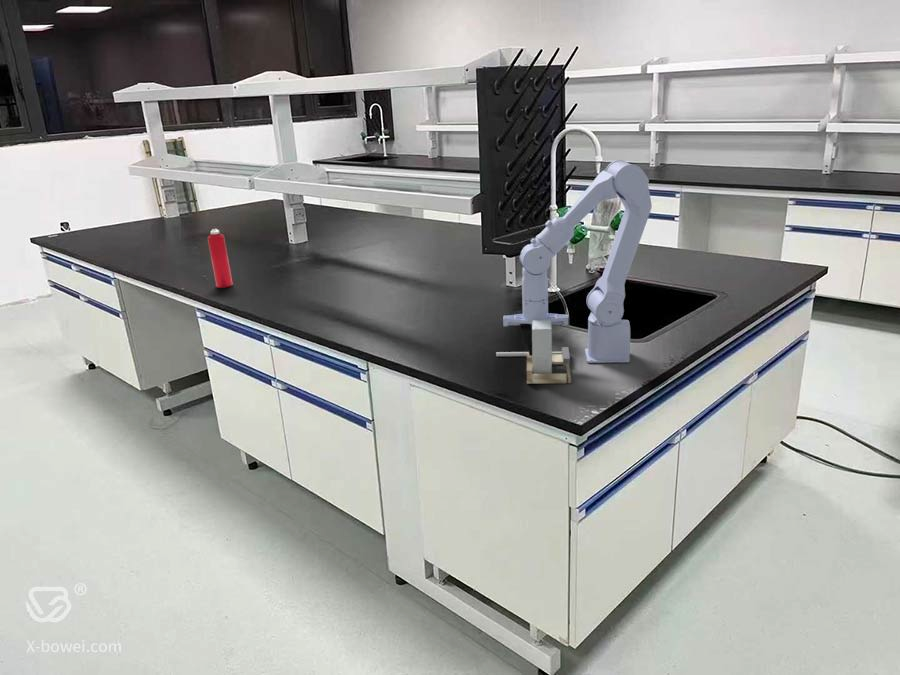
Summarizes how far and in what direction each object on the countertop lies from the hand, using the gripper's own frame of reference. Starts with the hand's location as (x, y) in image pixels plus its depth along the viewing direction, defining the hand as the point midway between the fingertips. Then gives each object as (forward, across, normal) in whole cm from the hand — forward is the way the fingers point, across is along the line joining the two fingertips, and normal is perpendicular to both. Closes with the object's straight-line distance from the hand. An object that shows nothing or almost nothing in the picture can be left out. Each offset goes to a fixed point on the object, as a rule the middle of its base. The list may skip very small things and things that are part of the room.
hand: (535, 354), depth 156 cm
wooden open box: (+2, -3, +5) cm, 6 cm away
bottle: (+2, +107, -70) cm, 128 cm away
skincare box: (+2, -1, +8) cm, 8 cm away
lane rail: (+2, +1, 0) cm, 2 cm away
